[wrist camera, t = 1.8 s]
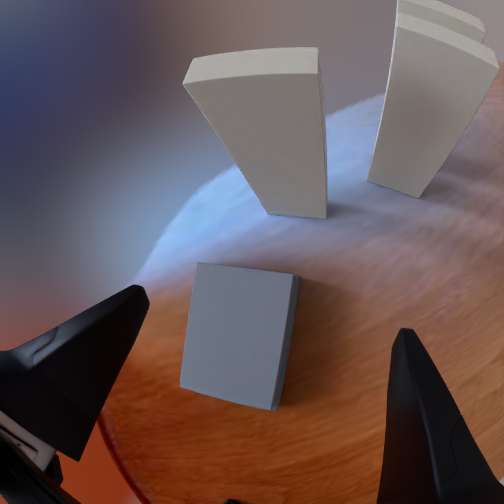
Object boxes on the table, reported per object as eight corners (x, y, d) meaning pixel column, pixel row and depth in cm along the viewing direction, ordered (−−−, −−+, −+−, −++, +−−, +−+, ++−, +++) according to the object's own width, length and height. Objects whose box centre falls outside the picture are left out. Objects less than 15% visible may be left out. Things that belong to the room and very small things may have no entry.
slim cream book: (326, 219, 23) (318, 73, 8) (267, 214, 24) (181, 84, 9) (327, 201, 23) (318, 46, 8) (270, 197, 24) (193, 58, 9)
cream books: (418, 199, 21) (500, 68, 6) (366, 180, 23) (396, 25, 7) (424, 152, 21) (481, 19, 6) (376, 135, 23) (398, -12, 8)
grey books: (279, 406, 21) (273, 417, 18) (191, 385, 23) (177, 391, 20) (300, 277, 22) (297, 273, 20) (208, 265, 25) (196, 260, 22)
